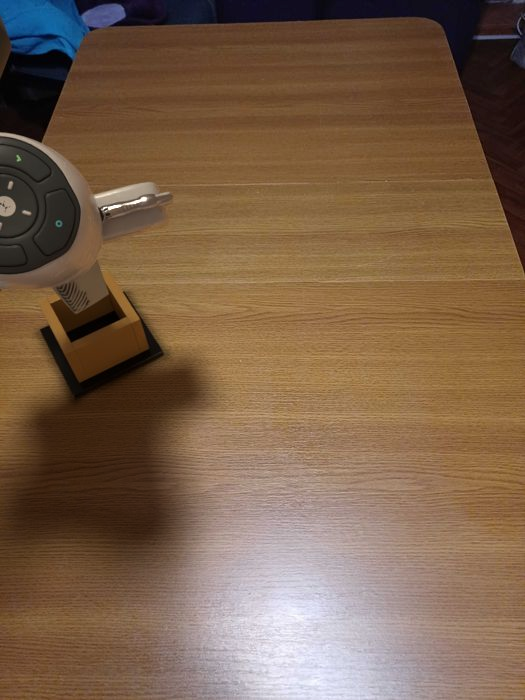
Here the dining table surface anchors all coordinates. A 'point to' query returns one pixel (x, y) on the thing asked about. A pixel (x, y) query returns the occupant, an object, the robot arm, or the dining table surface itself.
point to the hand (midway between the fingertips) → (60, 239)
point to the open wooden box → (97, 339)
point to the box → (84, 290)
